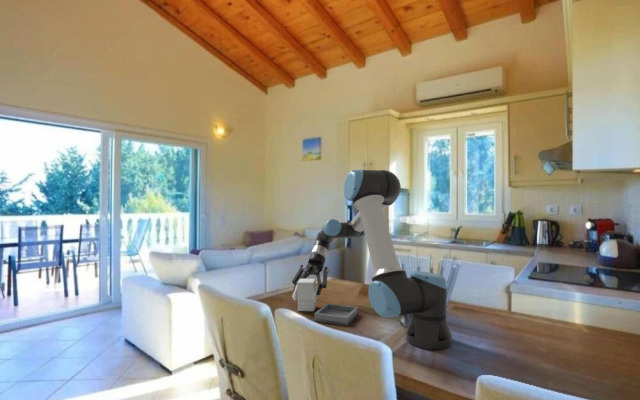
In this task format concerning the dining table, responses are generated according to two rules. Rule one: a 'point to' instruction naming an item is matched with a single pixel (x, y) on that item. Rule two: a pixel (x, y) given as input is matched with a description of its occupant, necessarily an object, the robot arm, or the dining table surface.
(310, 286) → the supplement box
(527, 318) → the dining table surface
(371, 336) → the dining table surface
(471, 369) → the dining table surface
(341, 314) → the holder tray
